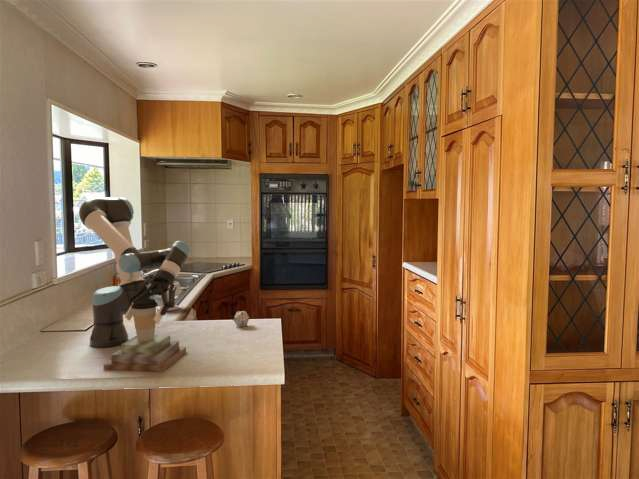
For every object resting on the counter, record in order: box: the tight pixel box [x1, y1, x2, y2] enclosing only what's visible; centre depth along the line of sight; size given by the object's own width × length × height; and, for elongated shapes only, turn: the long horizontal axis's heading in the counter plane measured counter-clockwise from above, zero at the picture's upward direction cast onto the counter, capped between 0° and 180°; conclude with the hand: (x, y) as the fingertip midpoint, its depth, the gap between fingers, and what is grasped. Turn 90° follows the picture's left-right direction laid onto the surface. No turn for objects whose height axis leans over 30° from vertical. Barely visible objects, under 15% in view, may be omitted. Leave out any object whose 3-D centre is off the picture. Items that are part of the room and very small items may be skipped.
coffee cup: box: [131, 298, 158, 342], centre depth 176 cm, size 9×9×15 cm
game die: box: [231, 309, 252, 328], centre depth 224 cm, size 9×8×10 cm
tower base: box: [103, 334, 187, 373], centre depth 177 cm, size 22×22×8 cm
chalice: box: [156, 280, 182, 312], centre depth 260 cm, size 14×14×15 cm
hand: (141, 320), depth 174 cm, fingers open, 13 cm apart
